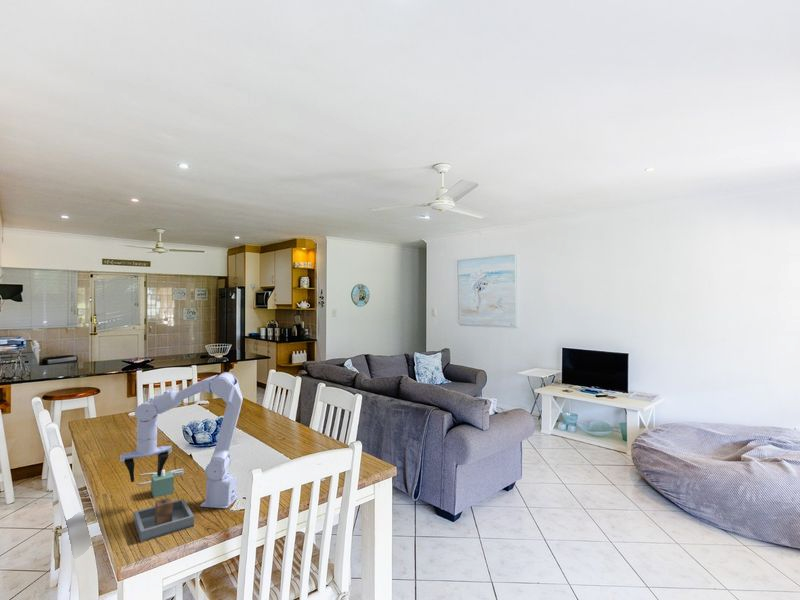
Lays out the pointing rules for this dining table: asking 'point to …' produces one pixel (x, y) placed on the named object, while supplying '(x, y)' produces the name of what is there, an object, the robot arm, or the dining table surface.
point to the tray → (151, 530)
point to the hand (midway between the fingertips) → (145, 478)
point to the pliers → (174, 472)
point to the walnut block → (163, 511)
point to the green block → (162, 484)
